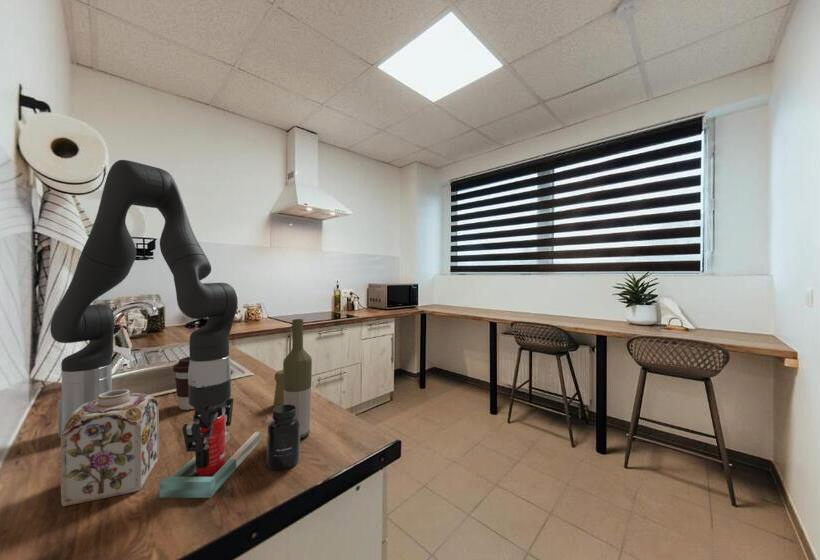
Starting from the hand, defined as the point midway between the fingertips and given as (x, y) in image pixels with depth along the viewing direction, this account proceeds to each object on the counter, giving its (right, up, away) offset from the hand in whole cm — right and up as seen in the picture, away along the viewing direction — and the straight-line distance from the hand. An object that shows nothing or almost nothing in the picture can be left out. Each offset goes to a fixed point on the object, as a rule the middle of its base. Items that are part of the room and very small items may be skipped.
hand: (210, 458), depth 68 cm
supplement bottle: (+14, -3, +4) cm, 15 cm away
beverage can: (0, -3, 0) cm, 3 cm away
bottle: (+13, -3, +16) cm, 21 cm away
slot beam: (0, -3, +3) cm, 4 cm away
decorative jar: (-17, -3, -3) cm, 18 cm away
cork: (+2, -3, +35) cm, 35 cm away
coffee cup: (-26, -2, +34) cm, 43 cm away
